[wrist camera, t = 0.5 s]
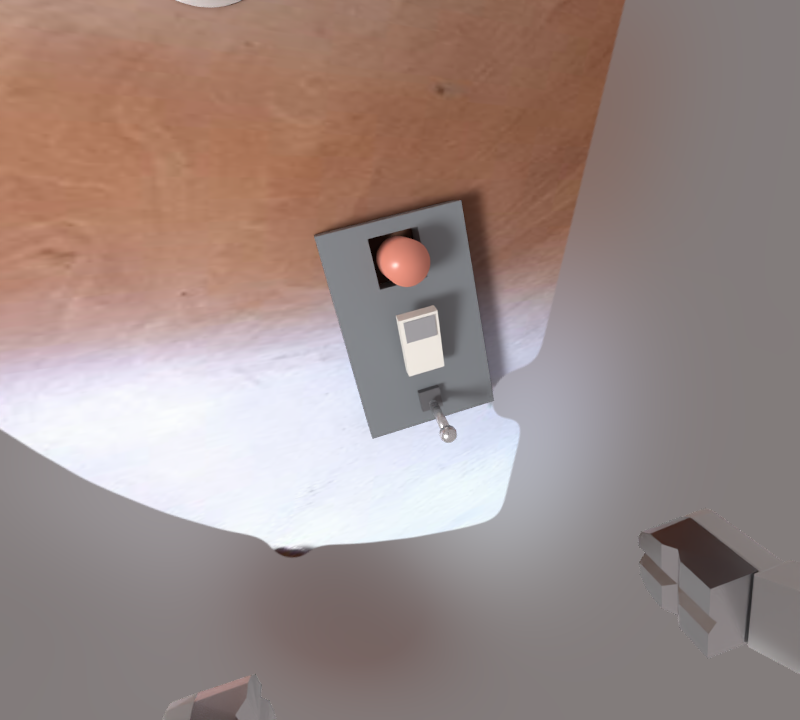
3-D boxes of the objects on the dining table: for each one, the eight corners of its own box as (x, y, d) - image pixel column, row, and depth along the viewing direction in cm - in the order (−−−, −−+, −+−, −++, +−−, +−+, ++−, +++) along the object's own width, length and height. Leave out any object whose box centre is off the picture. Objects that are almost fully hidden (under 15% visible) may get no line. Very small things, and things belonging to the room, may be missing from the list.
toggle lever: (423, 398, 49) (442, 437, 45) (439, 393, 50) (459, 432, 45) (425, 408, 51) (443, 448, 46) (440, 404, 51) (459, 443, 46)
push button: (371, 241, 45) (379, 245, 41) (413, 231, 45) (425, 233, 41) (381, 284, 46) (390, 292, 42) (422, 273, 47) (434, 280, 43)
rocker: (395, 315, 45) (399, 322, 44) (433, 305, 45) (437, 311, 44) (406, 370, 49) (409, 377, 48) (440, 360, 49) (444, 366, 48)
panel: (313, 234, 46) (315, 237, 42) (451, 200, 48) (465, 200, 44) (368, 426, 54) (374, 443, 50) (484, 390, 56) (498, 404, 52)
